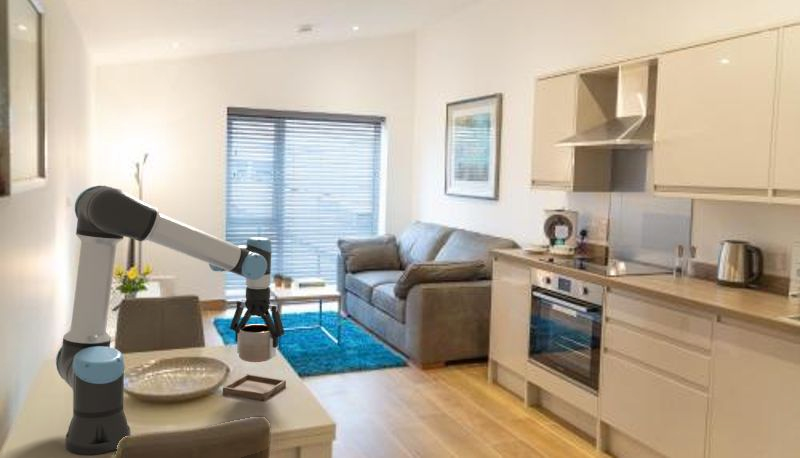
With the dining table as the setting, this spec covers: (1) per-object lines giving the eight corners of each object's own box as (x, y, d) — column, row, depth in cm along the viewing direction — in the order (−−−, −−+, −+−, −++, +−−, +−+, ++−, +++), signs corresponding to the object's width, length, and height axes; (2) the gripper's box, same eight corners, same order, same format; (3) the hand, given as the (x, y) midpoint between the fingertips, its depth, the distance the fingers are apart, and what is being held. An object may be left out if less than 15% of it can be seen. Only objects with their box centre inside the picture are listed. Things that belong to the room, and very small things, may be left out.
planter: (231, 358, 207) (232, 328, 206) (254, 350, 216) (255, 322, 215) (258, 365, 202) (259, 334, 201) (280, 356, 211) (281, 327, 210)
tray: (263, 401, 201) (263, 394, 201) (222, 393, 205) (222, 387, 205) (285, 386, 215) (285, 380, 214) (247, 379, 219) (247, 373, 219)
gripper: (296, 288, 206) (294, 356, 209) (232, 280, 213) (230, 346, 216) (285, 292, 199) (283, 362, 202) (219, 284, 206) (217, 352, 209)
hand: (256, 354), depth 209 cm, fingers closed on planter, 11 cm apart
